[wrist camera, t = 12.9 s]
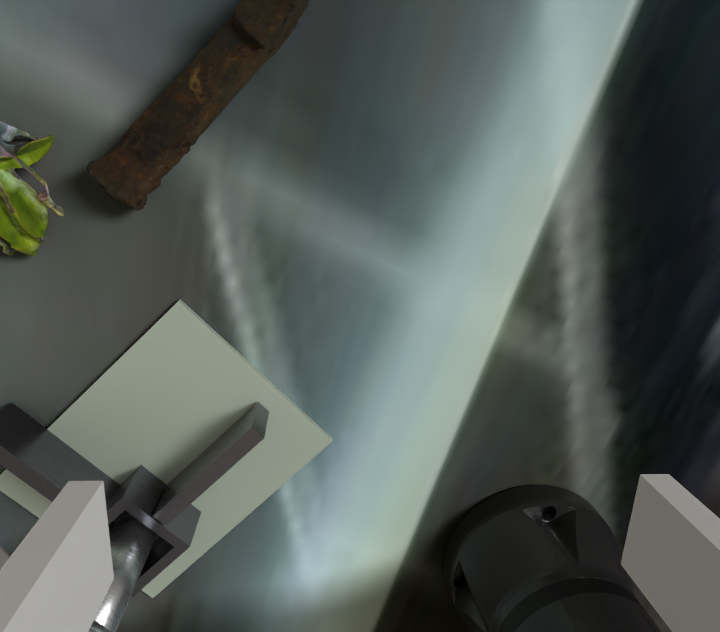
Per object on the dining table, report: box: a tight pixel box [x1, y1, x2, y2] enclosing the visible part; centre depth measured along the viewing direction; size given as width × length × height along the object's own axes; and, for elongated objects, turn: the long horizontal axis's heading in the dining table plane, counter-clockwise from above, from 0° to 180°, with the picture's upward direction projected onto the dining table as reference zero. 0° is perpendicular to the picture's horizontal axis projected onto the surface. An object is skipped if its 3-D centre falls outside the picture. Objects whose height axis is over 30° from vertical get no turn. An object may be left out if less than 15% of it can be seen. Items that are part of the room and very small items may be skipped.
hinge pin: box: [88, 510, 157, 632], centre depth 36 cm, size 4×4×13 cm
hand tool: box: [87, 0, 309, 210], centre depth 32 cm, size 19×4×5 cm, turn 132°
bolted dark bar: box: [153, 402, 269, 526], centre depth 39 cm, size 1×10×4 cm, turn 132°
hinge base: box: [0, 403, 201, 597], centre depth 39 cm, size 16×6×4 cm, turn 43°
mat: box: [0, 299, 332, 598], centre depth 41 cm, size 16×21×1 cm
